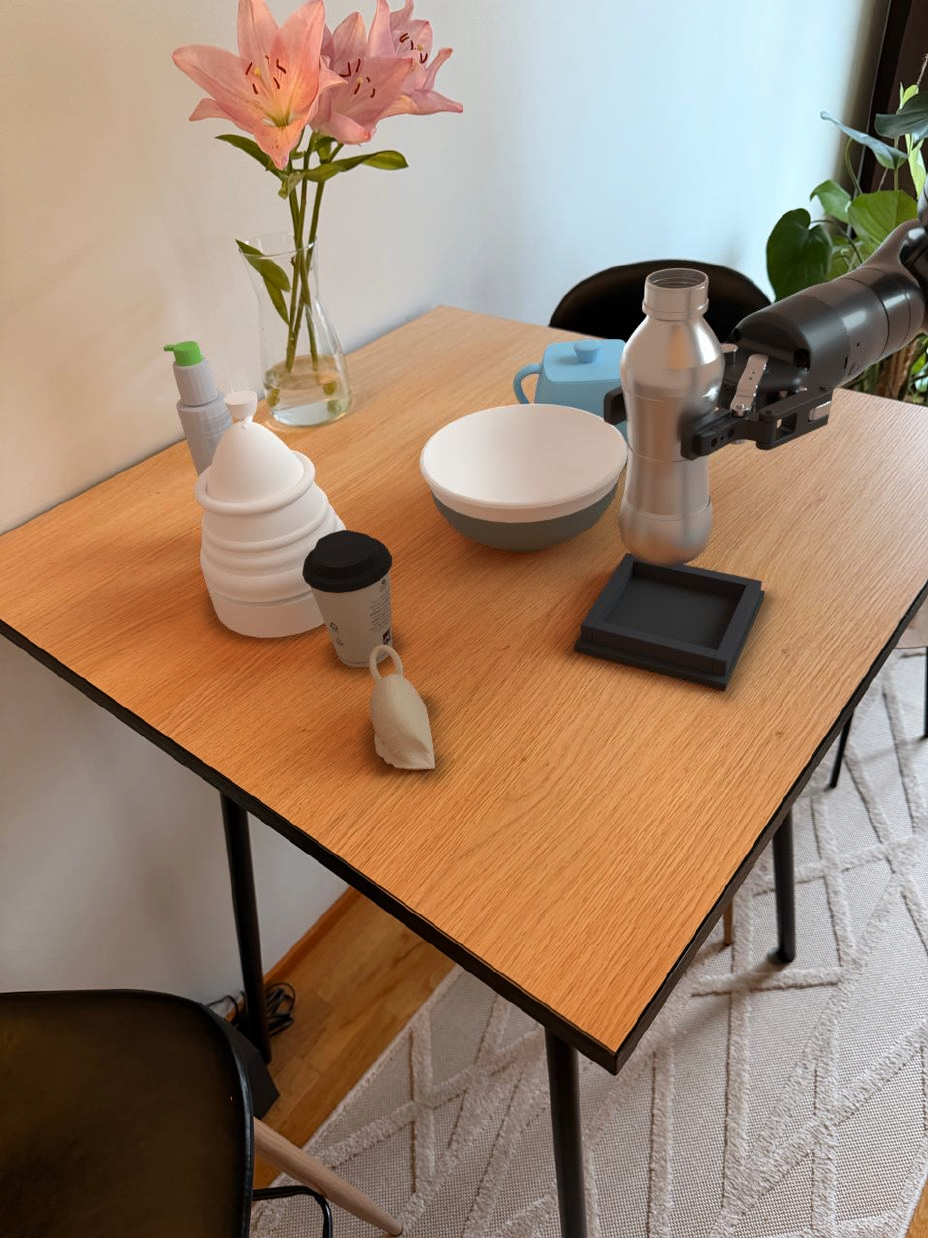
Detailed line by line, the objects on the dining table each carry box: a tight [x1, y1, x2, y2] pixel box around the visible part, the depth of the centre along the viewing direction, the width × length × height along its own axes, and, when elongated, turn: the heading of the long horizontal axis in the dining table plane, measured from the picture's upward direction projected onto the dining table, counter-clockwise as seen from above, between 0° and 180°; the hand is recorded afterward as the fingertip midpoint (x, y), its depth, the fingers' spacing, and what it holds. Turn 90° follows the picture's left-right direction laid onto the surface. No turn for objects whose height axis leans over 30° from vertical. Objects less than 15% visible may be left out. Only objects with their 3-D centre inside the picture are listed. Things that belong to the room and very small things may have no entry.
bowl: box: [418, 403, 628, 553], centre depth 84 cm, size 19×19×8 cm
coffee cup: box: [302, 529, 393, 668], centre depth 71 cm, size 7×7×10 cm
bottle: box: [163, 340, 235, 478], centre depth 82 cm, size 4×4×20 cm
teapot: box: [512, 338, 628, 462], centre depth 94 cm, size 12×18×12 cm
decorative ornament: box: [368, 645, 436, 770], centre depth 65 cm, size 4×8×5 cm, turn 6°
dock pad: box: [573, 552, 766, 692], centre depth 73 cm, size 12×12×2 cm
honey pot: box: [193, 389, 347, 639], centre depth 76 cm, size 13×13×18 cm
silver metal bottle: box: [617, 267, 725, 566], centre depth 60 cm, size 6×7×20 cm
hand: (645, 427), depth 59 cm, fingers closed on silver metal bottle, 6 cm apart
